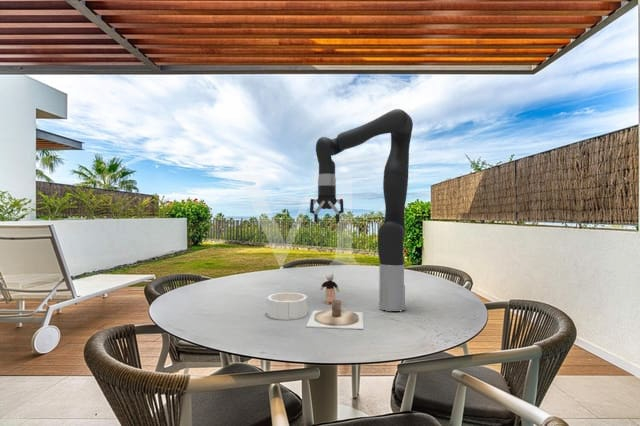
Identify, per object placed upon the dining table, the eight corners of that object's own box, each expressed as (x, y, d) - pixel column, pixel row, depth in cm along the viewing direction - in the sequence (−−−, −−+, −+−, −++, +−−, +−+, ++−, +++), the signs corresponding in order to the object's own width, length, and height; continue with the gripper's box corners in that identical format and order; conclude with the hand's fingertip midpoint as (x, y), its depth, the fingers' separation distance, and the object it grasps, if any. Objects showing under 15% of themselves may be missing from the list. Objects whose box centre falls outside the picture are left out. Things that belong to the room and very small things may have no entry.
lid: (358, 313, 123) (358, 296, 123) (358, 326, 108) (358, 307, 108) (317, 311, 125) (317, 295, 125) (311, 324, 110) (311, 306, 110)
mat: (362, 313, 124) (362, 312, 124) (363, 329, 106) (363, 328, 106) (313, 311, 126) (313, 310, 126) (306, 327, 108) (306, 326, 108)
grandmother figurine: (339, 302, 139) (339, 271, 139) (339, 305, 135) (339, 273, 136) (320, 302, 140) (320, 271, 140) (319, 304, 136) (319, 272, 136)
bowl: (309, 309, 130) (309, 293, 130) (303, 320, 116) (303, 302, 116) (273, 307, 131) (273, 292, 131) (263, 318, 117) (263, 301, 117)
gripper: (344, 185, 148) (343, 223, 148) (311, 186, 150) (311, 223, 150) (343, 184, 141) (343, 223, 141) (309, 184, 142) (308, 223, 142)
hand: (326, 223), depth 145 cm, fingers open, 8 cm apart
